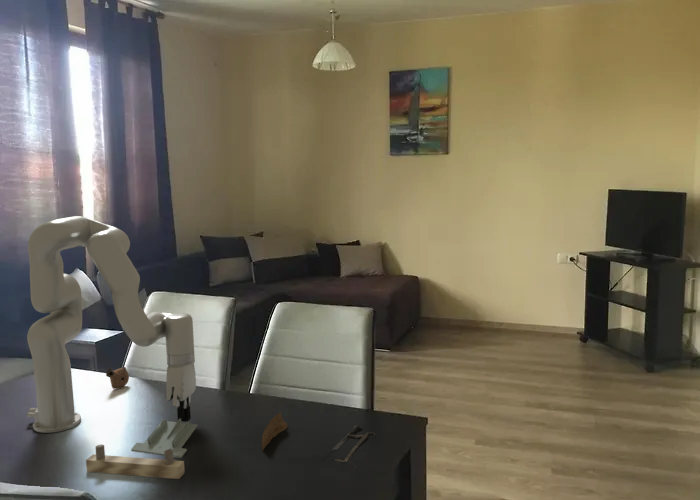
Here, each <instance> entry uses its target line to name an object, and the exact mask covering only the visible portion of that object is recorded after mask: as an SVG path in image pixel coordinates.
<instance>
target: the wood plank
mask: <svg viewBox="0 0 700 500" xmlns="http://www.w3.org/2000/svg"><path fill="white" fill-rule="evenodd" d="M288 426H289V425H288V423H286V422H285V421H284V419H283V416H282V410H280V411H279V413H277V414H276V415H275V416H274V417H272V418H271V420H270V421H268V424H267V425H266V427H265V428H264V431H263V433H262V435H261V437H262V438H261V443H260V445H261V446H262V447H261V451H264V449H265V448H266V447H267V445H268V444H269V443H270V442H271V440H272V439H274V438H275V437H276V436H278V434H280V433H282V432H283V431H285V430H287V429H288Z"/></svg>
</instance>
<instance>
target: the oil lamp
mask: <svg viewBox="0 0 700 500" xmlns="http://www.w3.org/2000/svg"><path fill="white" fill-rule="evenodd" d="M105 375H106V377H107V378H109V380H110V385H111V388H112V389H113V390H114V389H122V388H124V387H125V386H126V385H127V384H128V383H129V380H130V374H129V372H128V370H127V368H126V366H123V367H119V368H116V369H115V370H113V369H112V368H111V367H110V368H108V369H107V370H106V374H105Z"/></svg>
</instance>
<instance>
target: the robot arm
mask: <svg viewBox="0 0 700 500" xmlns="http://www.w3.org/2000/svg"><path fill="white" fill-rule="evenodd" d="M130 246H131V241H130V239H129V236H128V235H127V234H126V232H124V231H123V230H121V229H120V228H118V227H116V226H112V225H109V224H105V223H103V222H100V221H97V220H95V219H91V218H88V217H86V216H81V215H80V216H79V215H73V216H68V217H61V218H57V219H56V218H55V219H53V220H50V221H47V222H45V223H42V224H41V225H39V226H38V227H36V228H35V229H34V230H33V231H32V232H31V234H30V235H29V238H28V243H27V249H28V250H27V251H28V260H29V261H28V262H29V284H30V285H29V286H30V287H29V289H30V302H31V305H32V308H33V309H34V310H35V311H36V312H39V313H41V314H48V315H46V316H44V317H41V318H40V319H38V320H36V321H35V322H33V323H32V324H31V326H30V327H29V329H28V332H27V336H26V339H27V344H28V347H29V351H30V355H31V359H32V365H33V367H32V368H33V375H34V376H33V377H34V385H35V397H36V407H30V408H29V409H28V413H27V414H26V417H27V418H34V421H33V422H32V429H33V431H34V432H37V433H43V434H46V433H47V434H50V433H59V432H63V431H67V430H70V429H72V428H74V427H76V426H78V425H79V424H80V423H81V422H82V417H81V415H80V413H78V412H75V401H74V400H75V399H74V390H73V375H72V368H71V367H72V366H71V359H70V356H69V353H68V352H67V351H68V350H67V349H66V344H67V343H70V342H71V341H73V340H74V339H76V338H77V337H78V336H79V335H80V333H81V332H82V328H83V305H82V304H83V299H82V298H83V297H82V288H81V285H80V284H79V282H78V280H77V279H76V278H75V277H74V276H72V275H71V274H68V273H65V272H64V262H63V261H64V260H63V258H62V255H61V254H60V253H61V252H62V251H63V250H68V249H73V248H76V247H83V248H85V249H86V250H87V253H88V255H89V257H90V259H91V260H92V263H94V265H95V267H96V269H97V270H98V272H99V273H100V275H101V277H102V278H103V279H104V281H105V283H106V285H107V287H108V288H109V290H110V292H111V298H112V304H113V308H114V312H115V316H116V318H117V320H118V323H119V324H120V326H121V328H122V329H123V331H124V332H125V335H127V336H128V338H129V339H130V341H132V343H134V344H135V345H137V346H139V347H142V348H143V347H145V348H146V347H150V346H152V345H153V344H155V343H156V342H157V341H158V340H160V339H163V338H165V349H166V351H165V352H166V365H167V367H166V368H167V369H166V380H165V381H166V383H165V384H166V385H165V386H166V387H165V388H166V400H167V401H169V402H170V401H172V407H175V408H176V411H177V413H176V414H177V415H176V416H177V421H178V420H179V419H180V418H181V422H184V423H186V422H190V420H191V418H192V417H191V416H192V415H191V400H192V397H191V396H192V395H193V393H194V392H195V391H196V388H197V377H196V370H195V362H196V360H195V359H196V358H195V342H194V341H195V340H194V339H195V338H194V337H195V336H194V322H193V317H192V315H191V314H189V313H185V312H178V313H168V312H162V311H151V312H149V313H148V314H147V313H146V312H145V310H144V309H143V308H142V305H141V302H140V299H139V287H140V282H141V279H140V278H141V277H140V274H139V272H138V271H137V268H136V267H135V266H134V264H133V262H132V260H131V259H130V257H129V255H127V253H128V252H129V250H130Z"/></svg>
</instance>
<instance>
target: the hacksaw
mask: <svg viewBox="0 0 700 500" xmlns="http://www.w3.org/2000/svg"><path fill="white" fill-rule="evenodd" d="M362 428H363V427H362V426H361V425H360V424H356V425H354V426H353V428H352V429H351V430H350V431H348V433H347V434H346V436H345V437H343V438H342V439H341V440H340V441H339V442H337V444H336V445H335V446H333V448H332V449H331V450H332V451H333V450H334V451H335V450H339V448H341V446H343V444H345V442H347V440H348V439H349V438H353V439H359V440H358V441H357V443H355V445H354V446H353V447H352V449H351V450H350V451H349V453H348V454H347V455H346V456H345V458H344V460H343V459H335V461H337V462H343V463H344V462H346V463H348V461H349V463H350V464H352V465H353V466H355V468H354V469H351V471H353V472H354V471H355V470H357V468H358V466H357V465H356V464H354V463H353V462H351V461H352V459H353V458H354V456H353V454H355V452H356V451H357V450H358V449H359V447H361V446H362V444H363V443H364V442H365V441H366V440H367V438H374V437H375V436H376V434H375V432H373V431H372V432H371V431H370V432H366V433H365V434H356V433H357V432H359V431H362ZM369 434H374V435H373V436H370V437H369ZM327 460H328V461H329V460H330V458H327ZM345 471H346V472H347V471H348V470H347V469H346V470H345Z"/></svg>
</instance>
